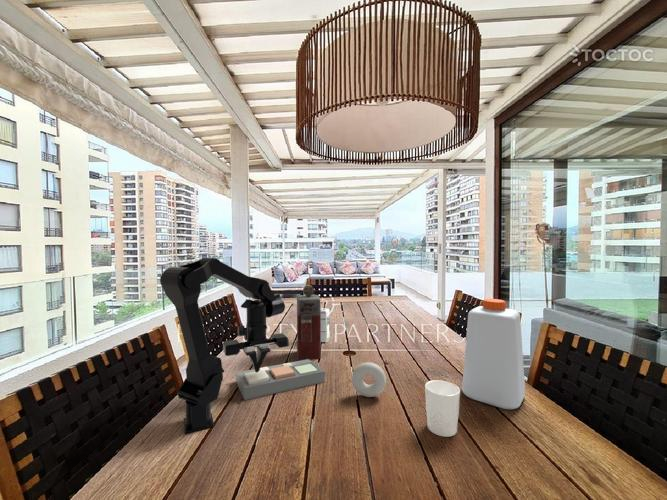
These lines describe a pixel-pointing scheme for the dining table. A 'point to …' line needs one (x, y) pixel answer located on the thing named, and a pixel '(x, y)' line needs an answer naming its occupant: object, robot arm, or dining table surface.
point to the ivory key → (256, 377)
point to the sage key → (305, 369)
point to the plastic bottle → (494, 356)
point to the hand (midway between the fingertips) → (256, 371)
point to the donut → (365, 388)
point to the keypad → (279, 380)
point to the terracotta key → (281, 372)
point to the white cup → (442, 407)
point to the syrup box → (325, 325)
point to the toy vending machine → (308, 325)
